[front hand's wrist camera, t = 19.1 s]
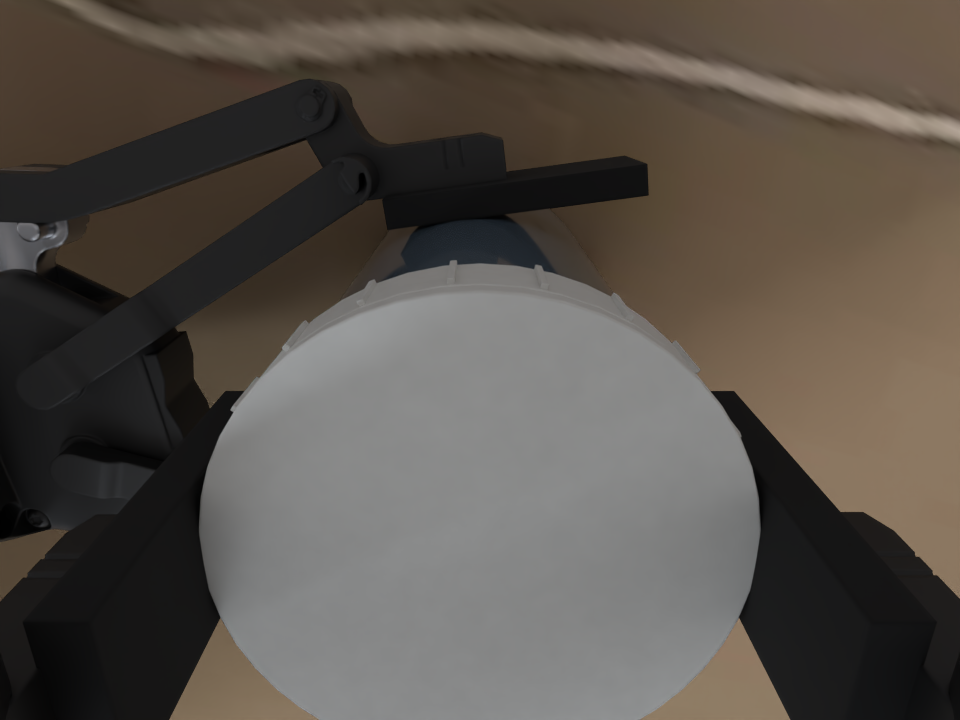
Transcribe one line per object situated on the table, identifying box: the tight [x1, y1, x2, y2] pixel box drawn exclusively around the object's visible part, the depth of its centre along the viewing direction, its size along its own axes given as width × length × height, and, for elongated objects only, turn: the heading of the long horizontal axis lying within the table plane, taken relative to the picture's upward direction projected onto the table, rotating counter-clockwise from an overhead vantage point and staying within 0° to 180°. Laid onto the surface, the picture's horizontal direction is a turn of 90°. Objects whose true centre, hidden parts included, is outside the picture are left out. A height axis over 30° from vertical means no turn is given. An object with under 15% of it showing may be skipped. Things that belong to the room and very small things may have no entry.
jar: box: [339, 209, 613, 302], centre depth 18 cm, size 8×8×15 cm
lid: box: [199, 260, 761, 720], centre depth 12 cm, size 9×9×2 cm
